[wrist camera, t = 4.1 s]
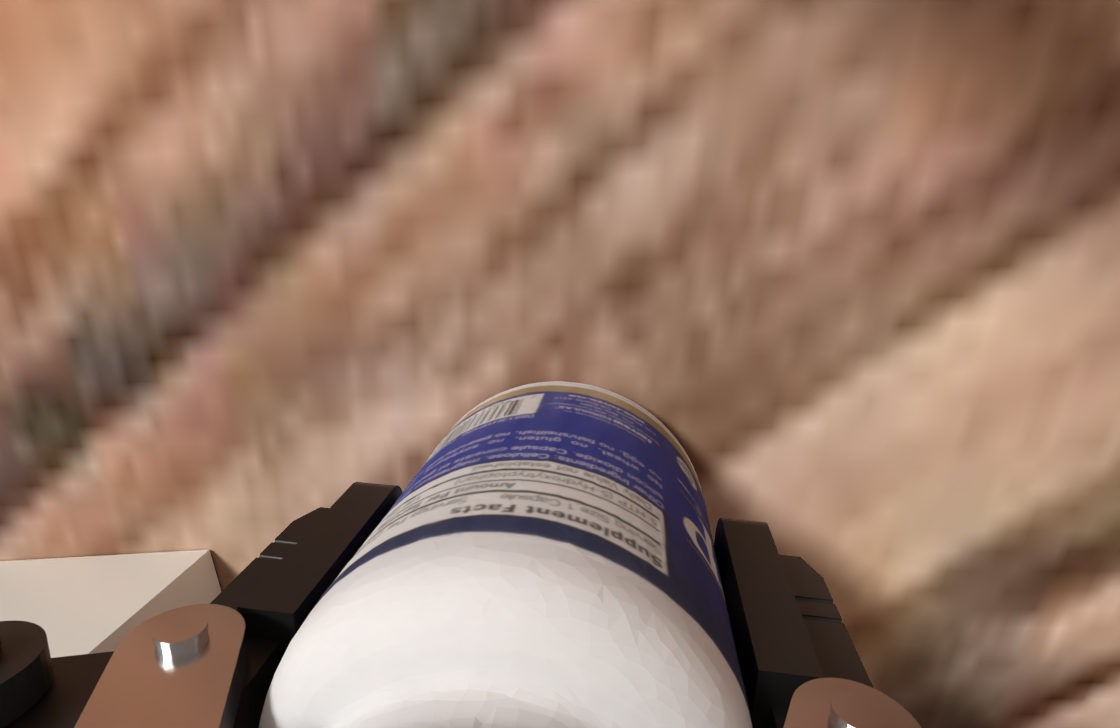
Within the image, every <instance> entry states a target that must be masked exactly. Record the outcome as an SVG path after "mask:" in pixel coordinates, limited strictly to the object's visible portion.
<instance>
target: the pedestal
mask: <svg viewBox="0 0 1120 728" xmlns="http://www.w3.org/2000/svg"><path fill="white" fill-rule="evenodd" d="M220 593H221V588H220V585H219V581H218V578H217V574H216V571H215V567H214V564H213V560H212V557H211V553H210V550H194V551H176V552H159V553H141V554H123V555H106V556H88V557H70V558H53V559H35V560H17V561H0V621H15V620H17V621H27V622H31V623H35V624H37V625H39V626H41V627H42V628H43V629H44V630H45V633H46V635H47V640H48V645H49V651H50V656H51V658H55V657H65V656H74V655H83V654H93V653H102V652H111V651H115V649H116V647H117V646H118V644H119V643H120V641H121V640H122V639H123V638H124V637H125V636H126V635H127V634H128V633H129V632H130V631H131V630H133V629H134V628H135V627H137V626H138V625H140V624H141V623H143V622H144V621H146V620H148V619H150V618H152V617H154V616H156V615H159V614H161V613H163V612H166V611H169V610H172V609H176V608H180V607H184V606H189V605H196V604H210V603H211V602H212V601H213V600H214V599H215V598H216V597H217V596H218V595H219V594H220Z"/></svg>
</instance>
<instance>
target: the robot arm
mask: <svg viewBox="0 0 1120 728" xmlns="http://www.w3.org/2000/svg"><path fill="white" fill-rule="evenodd" d="M401 494H402V490H401V488H400V487H399V486H393V485H383V484H373V483H362V482H355V483H353V484H352V485H351V486H350V487H349V488H348V489H347V491H346V492H345V493H344V494H343V495H342V496H341V497H340V498H339V499H338V500H337V501H336V502H335V503H334V504H333V505H332V506H331V508H322V507H320V508H318V509H316V510H314V511H312V512H310V513H308V514H306V515H304V516H302V517H301V518H299V519H297V520H295V521H293V522H292V523H291V524H290V525H289V526H288V527H287V528H286V529H285V530H284V531H283V532H282V533H281V534H280V535H279V536H278V537H277V538H276V539H275V543H271V544H270V545H269V546H268V547H267V548H266V549H265V550H264V551H263V552H262V553H260V557H259V558H255V559H254V560H253V561H252V562H251V563H250V564H249V565H248V566H247V567H246V568H245V569H244V570H243V571H242V572H241V573H240V574H239V575H238V576H237V577H236V578H235V579H234V580H233V581H232V582H231V583H230V584H229V585H228V586H227V587H226V588H225V589H224V590H223V591H222V592H221V593H220V594H219V595H218V596H217V597H216V598H215V599H214V600H213V601H212V602H211V603H210V604H196V605H189V606H184V607H180V608H176V609H172V610H169V611H166V612H163V613H161V614H159V615H156V616H154V617H152V618H150V619H148V620H146V621H144V622H143V623H141V624H140V625H138V626H137V627H135V628H134V629H133V630H131V631H130V632H129V633H128V634H127V635H126V636H125V637H124V638H123V639H122V640H121V641H120V643H119V644H118V646H117V647H116V649H115V651H111V652H102V653H93V654H83V655H74V656H65V657H55V658H51V656H50V651H49V645H48V640H47V635H46V633H45V630H44V629H43V628H42V627H41V626H39V625H37V624H35V623H31V622H27V621H17V620H15V621H0V728H259V723H260V718H261V714H262V710H263V706H264V703H265V699H266V695H267V692H268V690H269V687H270V684H271V682H272V679H273V676H274V674H275V672H276V670H277V668H278V666H279V664H280V662H281V660H282V658H283V655H284V653H285V652H286V650H287V648H288V646H289V644H290V642H291V640H292V639H293V637H294V636H295V634H296V633H297V631H298V630H299V628H300V627H301V625H302V624H303V622H304V621H305V620H306V618H307V617H308V615H309V614H310V612H311V611H312V609H313V608H314V606H315V605H316V603H317V602H318V601H319V599H320V598H321V596H322V594H323V593H324V592H325V591H326V590H327V588H328V587H329V586H330V585H331V584H332V583H333V582H334V580H335V579H336V578H337V577H338V575H339V574H340V573H341V571H342V570H343V569H344V567H345V566H346V565H347V563H348V562H349V561H350V560H351V559H352V558H353V556H354V555H355V554H356V552H357V551H358V550H359V549H360V547H361V546H362V545H363V543H364V542H365V541H366V540H367V538H368V537H369V536H370V535H371V533H372V532H373V531H374V530H375V528H376V527H377V526H378V525H379V523H380V522H381V521H382V519H383V518H384V517H385V515H386V514H387V513H388V512H389V510H390V509H391V508H392V506H393V505H394V504H395V502H396V501H397V500H398V498H399V497H400V496H401ZM714 548H715V553H716V558H717V563H718V568H719V572H720V577H721V581H722V586H723V592H724V597H725V601H726V606H727V610H728V614H729V618H730V623H731V628H732V632H733V637H734V641H735V646H736V651H737V655H738V660H739V665H740V669H741V673H742V678H743V682H744V686H745V690H746V695H747V700H748V705H749V710H750V715H751V721H752V728H921V727H920V725H919V724H918V722H917V721H916V720H915V719H914V717H913V716H912V715H911V714H910V713H909V712H908V711H907V710H906V709H905V708H904V707H902V706H901V705H900V704H899V703H897V702H896V701H895V700H893V699H892V698H890V697H889V696H887V695H885V694H884V693H882V692H880V691H878V690H876V689H874V688H873V686H872V684H871V681H870V679H869V677H868V675H867V673H866V671H865V668H864V666H863V664H862V662H861V660H860V658H859V655H858V653H857V651H856V649H855V647H854V645H853V642H852V640H851V638H850V636H849V634H848V632H847V629H846V627H845V625H844V624H842V622H841V616H840V614H839V612H838V610H837V608H836V606H835V604H833V599H832V597H831V595H830V593H829V590H828V588H827V586H826V584H825V582H824V580H823V577H821V576H820V575H819V574H818V573H817V572H816V571H815V570H814V569H813V568H812V567H810V566H809V565H808V564H807V563H806V562H805V561H804V560H803V559H802V558H801V557H794V556H785V555H779V554H778V551H777V548H776V546H775V543H774V540H773V538H772V535H771V532H770V530H769V527H768V525H767V523H765V522H755V521H745V520H734V519H724V518H720V519H719V520H718V523H717V528H716V534H715V542H714Z"/></svg>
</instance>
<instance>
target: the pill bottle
mask: <svg viewBox="0 0 1120 728" xmlns="http://www.w3.org/2000/svg"><path fill="white" fill-rule="evenodd" d="M259 728H752V721H751V715H750V710H749V705H748V700H747V695H746V690H745V686H744V682H743V678H742V673H741V669H740V665H739V660H738V655H737V651H736V646H735V641H734V637H733V632H732V628H731V623H730V618H729V614H728V610H727V606H726V601H725V597H724V592H723V586H722V581H721V577H720V572H719V568H718V563H717V558H716V553H715V548H714V543H713V539H712V535H711V531H710V526H709V521H708V516H707V511H706V506H705V502H704V498H703V493H702V490H701V486H700V483H699V480H698V477H697V474H696V472H695V469H694V467H693V465H692V463H691V461H690V459H689V457H688V455H687V454H686V452H685V450H684V449H683V447H682V446H681V445H680V443H679V442H678V440H677V439H676V438H675V437H674V435H673V434H672V433H671V432H670V431H669V430H668V429H667V428H666V427H665V425H664V424H663V423H662V422H660V421H659V420H658V419H657V418H656V417H655V416H654V415H652V414H651V413H650V412H648V411H647V410H646V409H644V408H643V407H641V406H640V405H638V404H636V403H635V402H633V401H631V400H629V399H627V398H625V397H623V396H621V395H619V394H617V393H614V392H612V391H609V390H606V389H603V388H600V387H596V386H592V385H588V384H582V383H576V382H564V381H550V382H539V383H533V384H527V385H523V386H519V387H516V388H512V389H509V390H507V391H504V392H502V393H499V394H497V395H495V396H493V397H491V398H489V399H487V400H486V401H484V402H482V403H480V404H479V405H477V406H476V407H475V408H473V409H472V410H470V411H469V412H468V413H467V414H466V415H464V416H463V417H462V418H461V419H460V420H459V421H458V422H457V423H456V424H455V425H454V426H453V427H452V429H451V430H450V431H449V432H448V433H447V435H446V436H445V437H444V438H443V439H442V441H441V442H440V443H439V445H438V446H437V447H436V449H435V450H434V451H433V453H432V454H431V455H430V457H429V458H428V459H427V461H426V462H425V463H424V465H423V466H422V468H421V469H420V471H419V472H418V473H417V475H416V476H415V477H414V478H413V480H412V481H411V482H410V484H409V485H408V486H407V488H406V489H405V490H404V492H403V493H402V494H401V496H400V497H399V498H398V500H397V501H396V502H395V504H394V505H393V506H392V508H391V509H390V510H389V512H388V513H387V514H386V515H385V517H384V518H383V519H382V521H381V522H380V523H379V525H378V526H377V527H376V528H375V530H374V531H373V532H372V533H371V535H370V536H369V537H368V538H367V540H366V541H365V542H364V543H363V545H362V546H361V547H360V549H359V550H358V551H357V552H356V554H355V555H354V556H353V558H352V559H351V560H350V561H349V562H348V563H347V565H346V566H345V567H344V569H343V570H342V571H341V573H340V574H339V575H338V577H337V578H336V579H335V580H334V582H333V583H332V584H331V585H330V586H329V587H328V588H327V590H326V591H325V592H324V593H323V594H322V596H321V598H320V599H319V601H318V602H317V603H316V605H315V606H314V608H313V609H312V611H311V612H310V614H309V615H308V617H307V618H306V620H305V621H304V622H303V624H302V625H301V627H300V628H299V630H298V631H297V633H296V634H295V636H294V637H293V639H292V640H291V642H290V644H289V646H288V648H287V650H286V652H285V653H284V655H283V658H282V660H281V662H280V664H279V666H278V668H277V670H276V672H275V674H274V676H273V679H272V682H271V684H270V687H269V690H268V692H267V695H266V699H265V703H264V706H263V710H262V714H261V718H260V723H259Z"/></svg>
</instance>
